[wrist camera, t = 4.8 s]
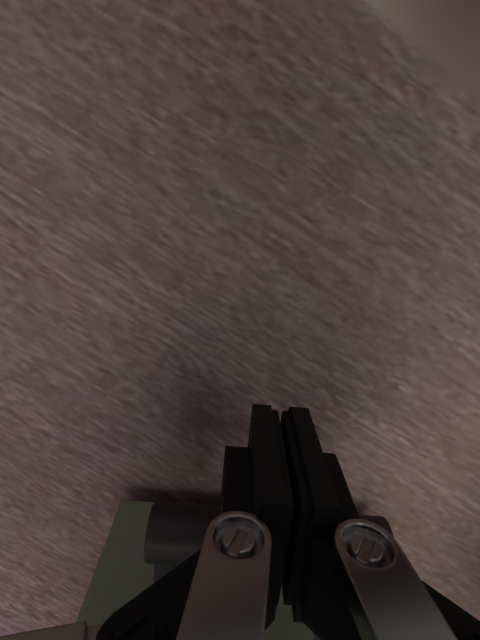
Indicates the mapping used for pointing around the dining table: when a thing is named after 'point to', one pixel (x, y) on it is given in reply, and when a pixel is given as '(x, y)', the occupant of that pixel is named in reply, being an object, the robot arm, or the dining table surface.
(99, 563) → the drawer
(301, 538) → the robot arm
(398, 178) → the dining table surface
